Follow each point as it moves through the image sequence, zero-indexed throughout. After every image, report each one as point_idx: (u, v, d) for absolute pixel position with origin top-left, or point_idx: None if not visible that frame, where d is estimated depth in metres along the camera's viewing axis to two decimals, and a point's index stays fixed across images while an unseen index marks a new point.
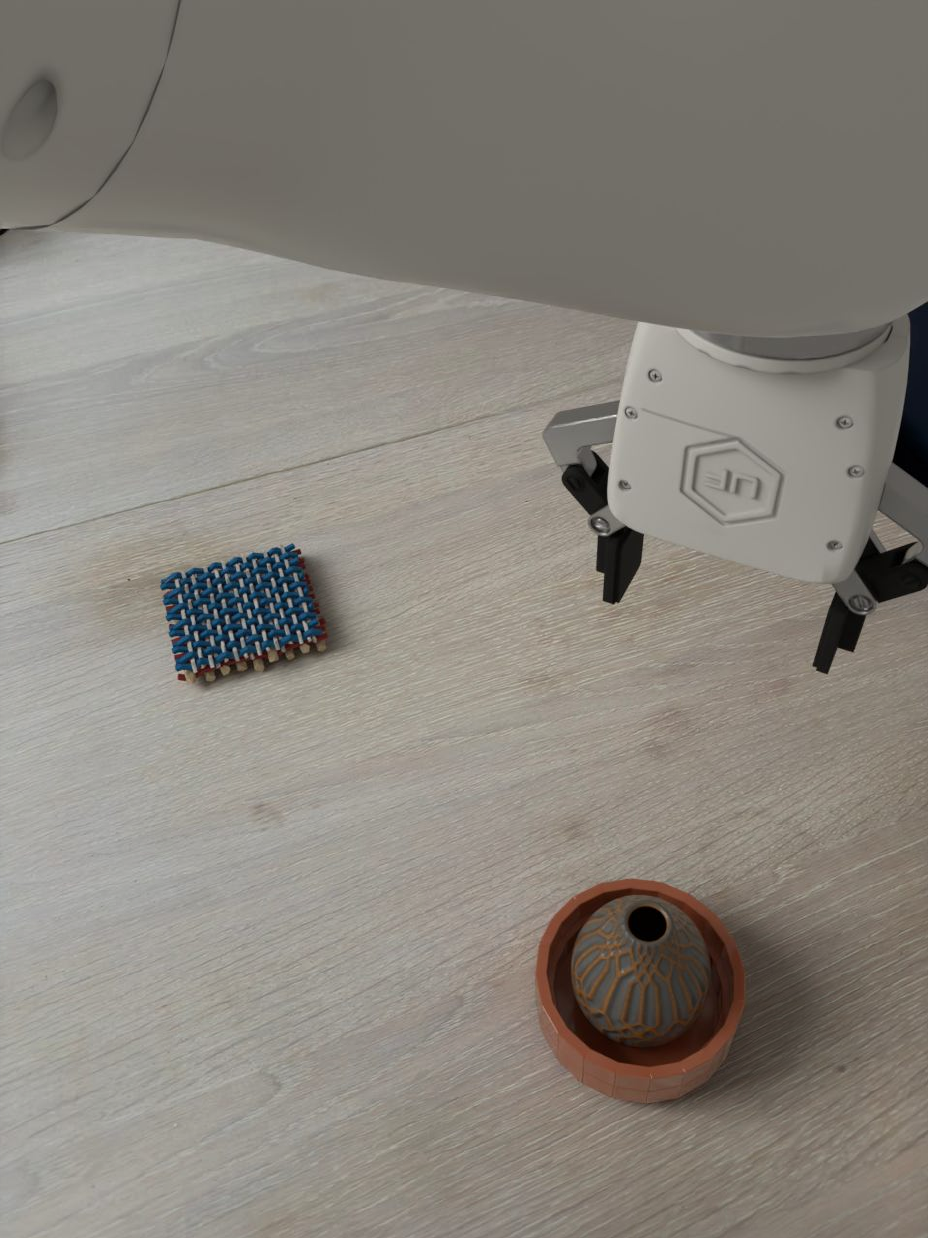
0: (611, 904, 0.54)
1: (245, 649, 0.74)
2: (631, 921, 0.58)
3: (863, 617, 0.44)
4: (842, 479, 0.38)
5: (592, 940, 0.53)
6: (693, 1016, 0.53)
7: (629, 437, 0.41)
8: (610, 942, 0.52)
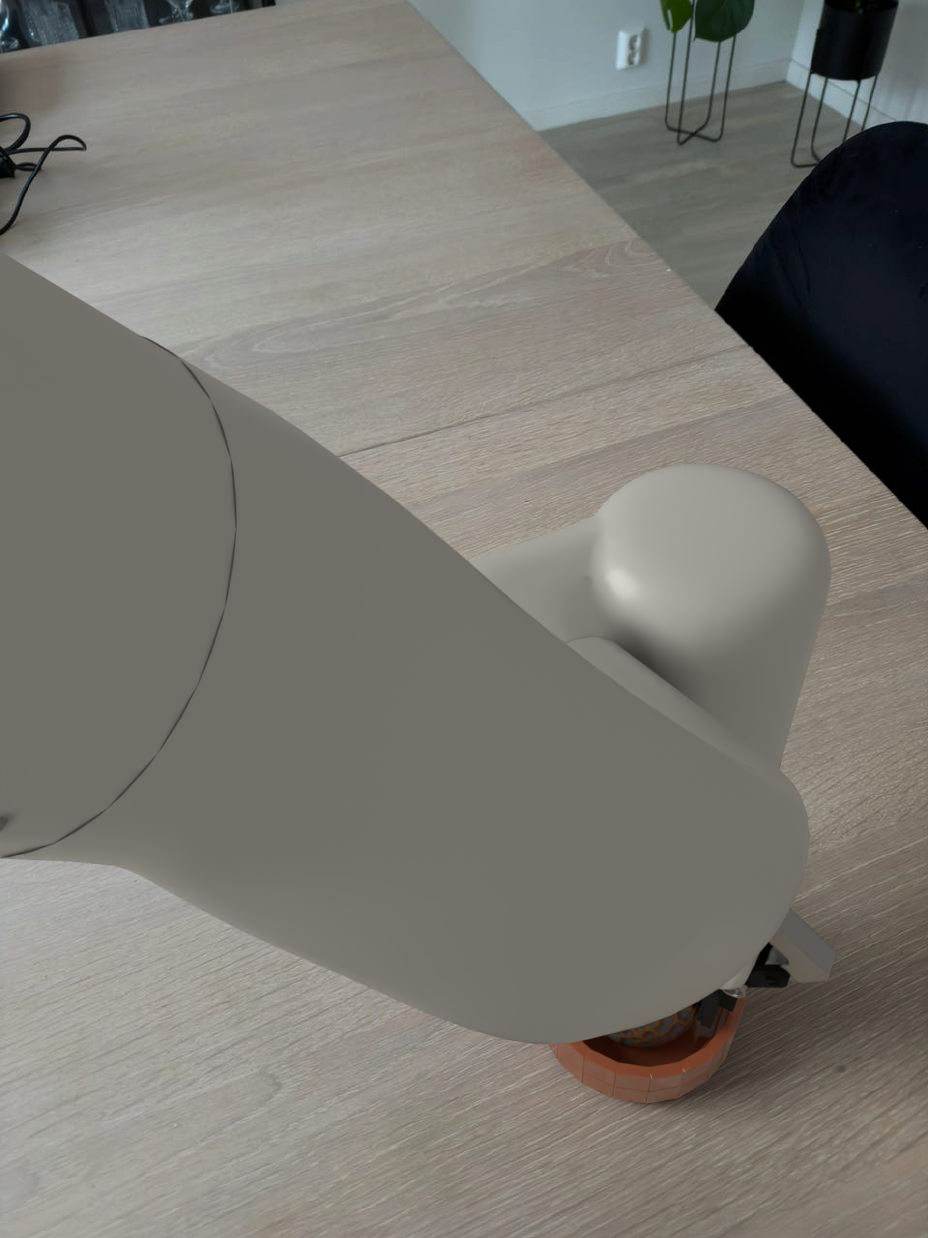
0: None
1: None
2: None
3: None
4: None
5: None
6: (693, 1016, 0.53)
7: None
8: None
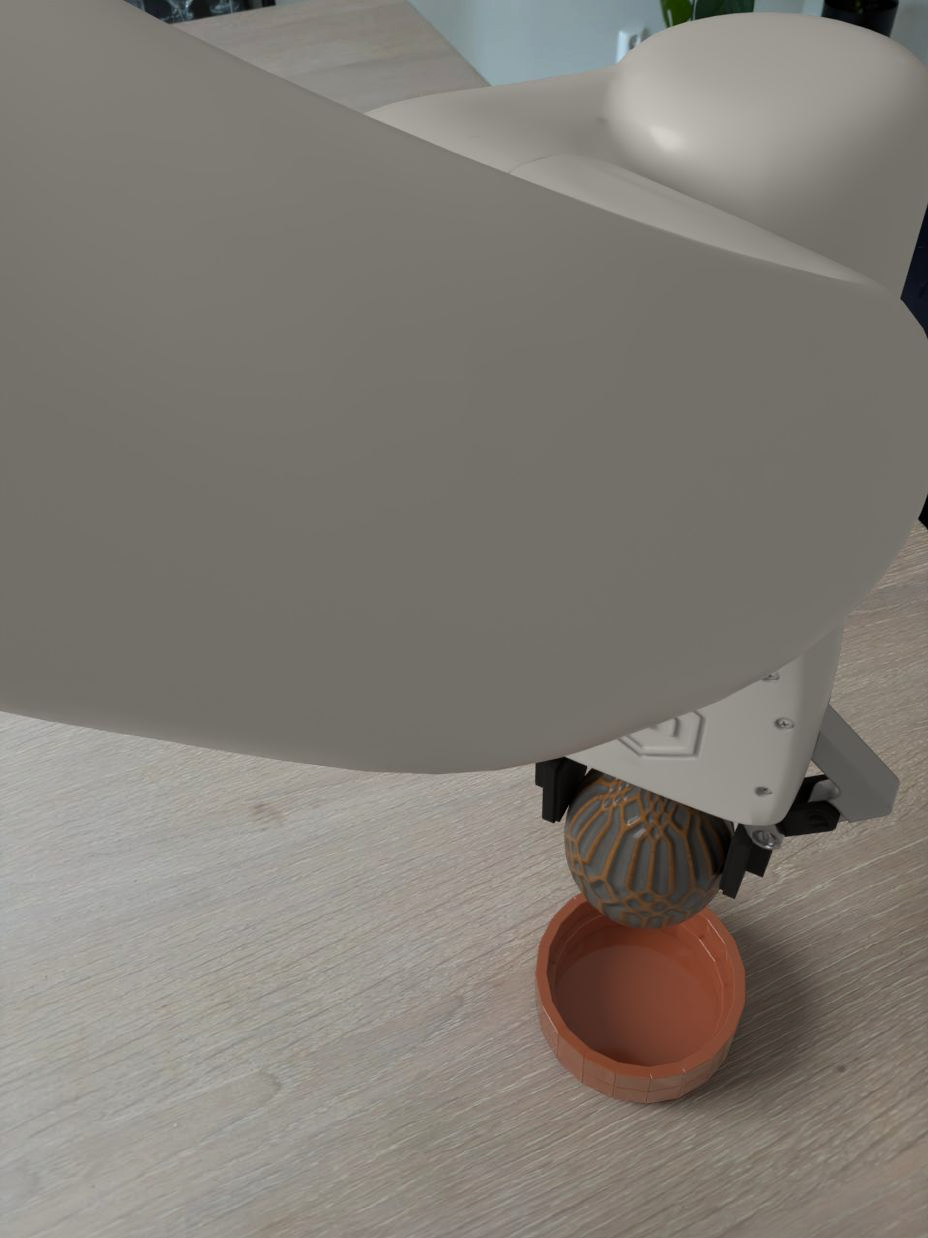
0: None
1: None
2: None
3: None
4: (769, 730, 0.33)
5: (591, 791, 0.43)
6: (713, 885, 0.43)
7: None
8: (613, 789, 0.42)
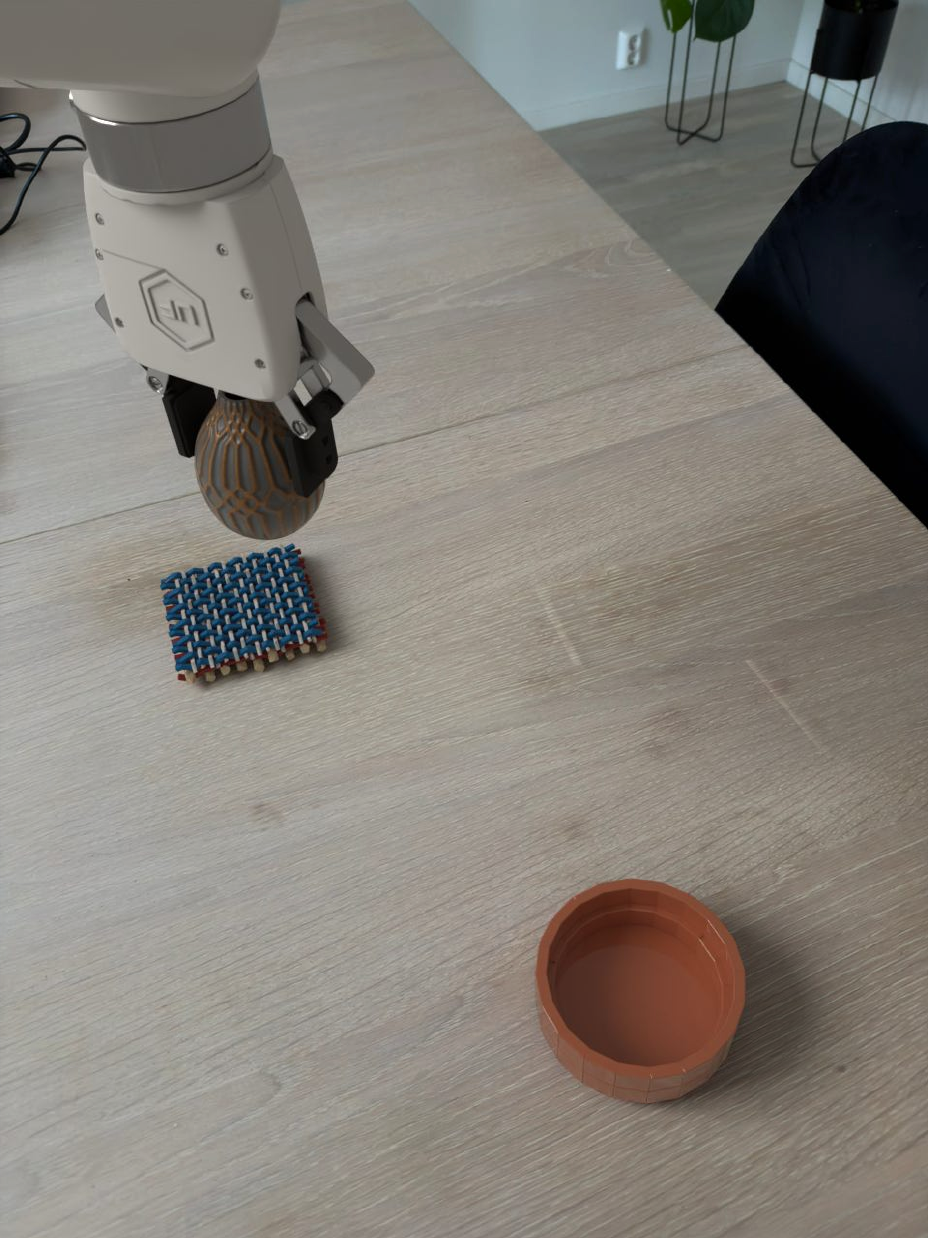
0: (230, 399, 0.58)
1: (245, 649, 0.74)
2: None
3: (314, 444, 0.54)
4: (240, 301, 0.47)
5: (204, 421, 0.57)
6: (294, 490, 0.57)
7: (105, 277, 0.50)
8: (213, 412, 0.56)
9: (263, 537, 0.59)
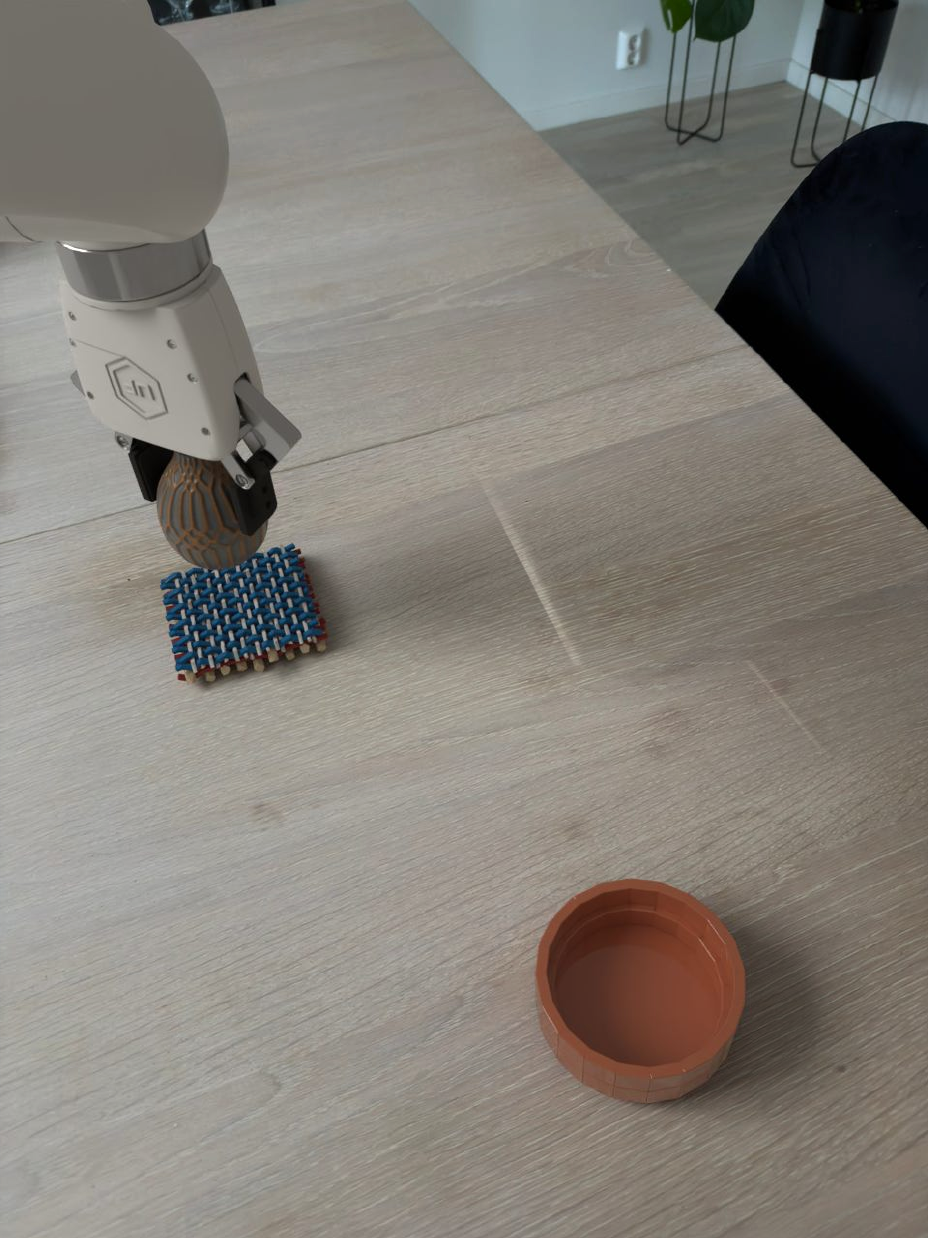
0: None
1: (245, 649, 0.74)
2: None
3: (255, 492, 0.65)
4: (188, 383, 0.58)
5: (163, 472, 0.68)
6: None
7: (78, 360, 0.61)
8: (170, 465, 0.67)
9: (215, 568, 0.70)
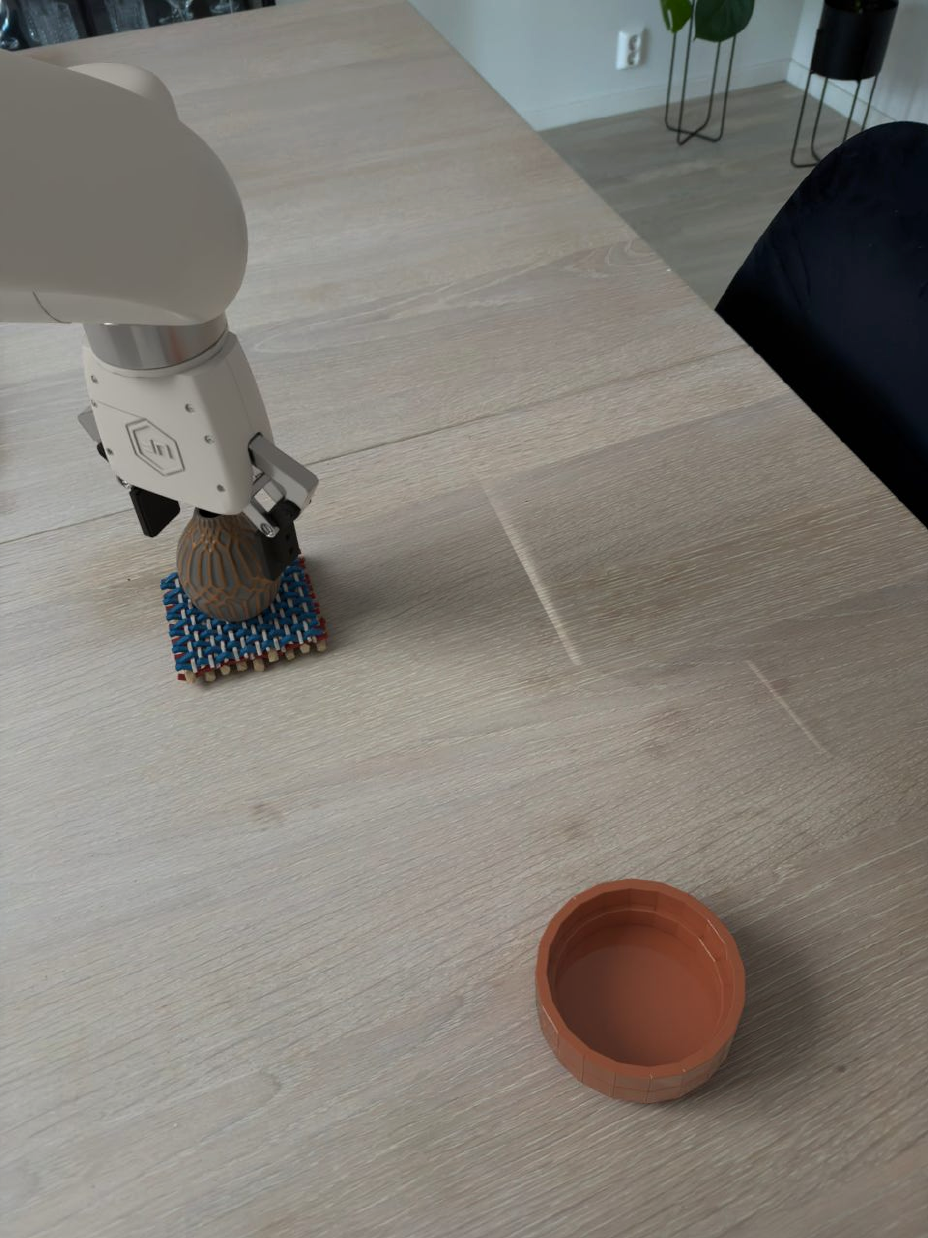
0: (204, 511, 0.73)
1: (245, 649, 0.74)
2: None
3: (278, 540, 0.67)
4: (204, 444, 0.61)
5: (183, 531, 0.72)
6: (256, 585, 0.72)
7: (99, 419, 0.64)
8: (190, 525, 0.71)
9: (232, 620, 0.74)
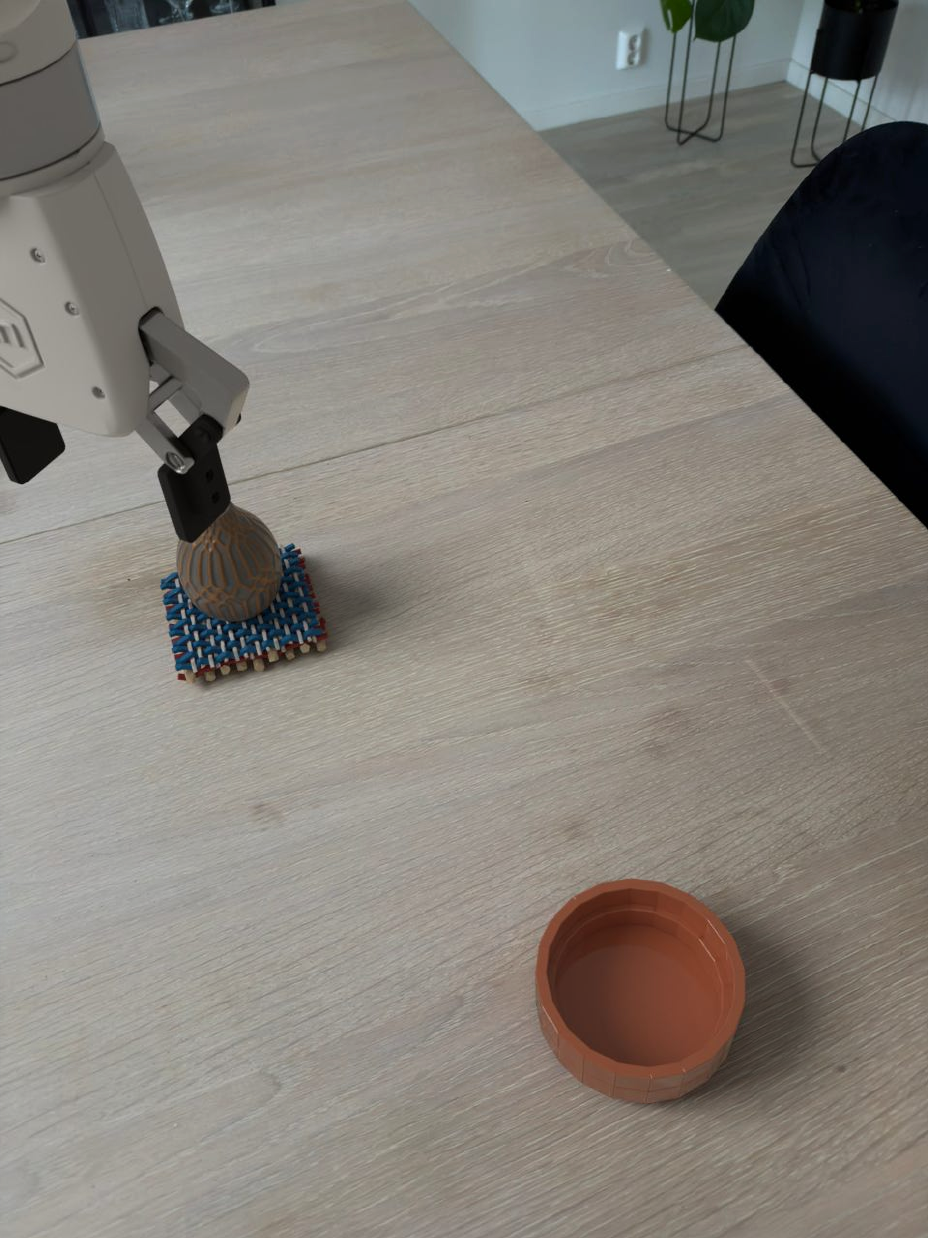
0: None
1: (245, 649, 0.74)
2: None
3: (195, 479, 0.45)
4: (66, 318, 0.39)
5: None
6: (256, 585, 0.72)
7: None
8: None
9: (232, 620, 0.74)
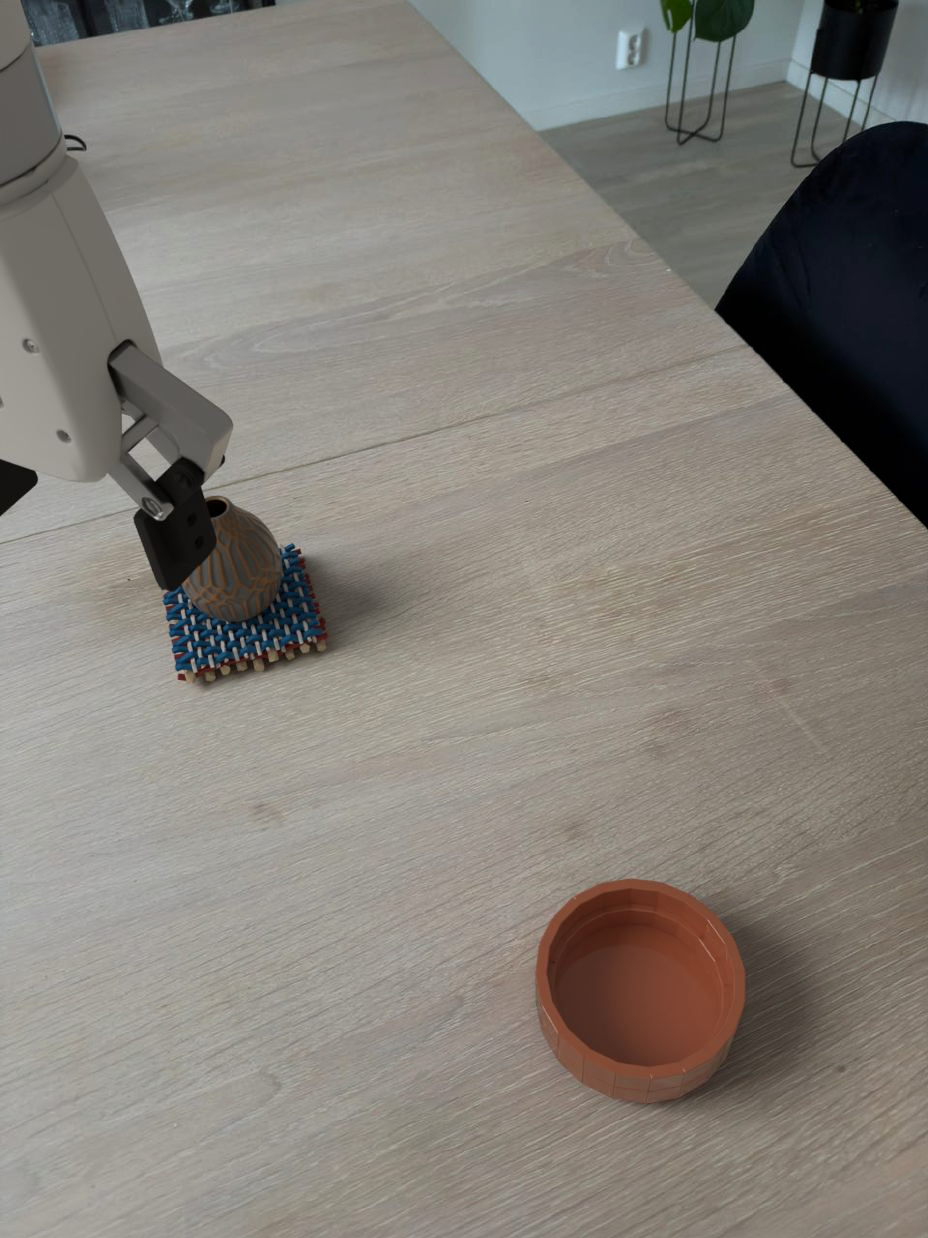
0: None
1: (245, 649, 0.74)
2: None
3: (175, 525, 0.41)
4: (25, 356, 0.35)
5: None
6: (256, 585, 0.72)
7: None
8: None
9: (232, 620, 0.74)
